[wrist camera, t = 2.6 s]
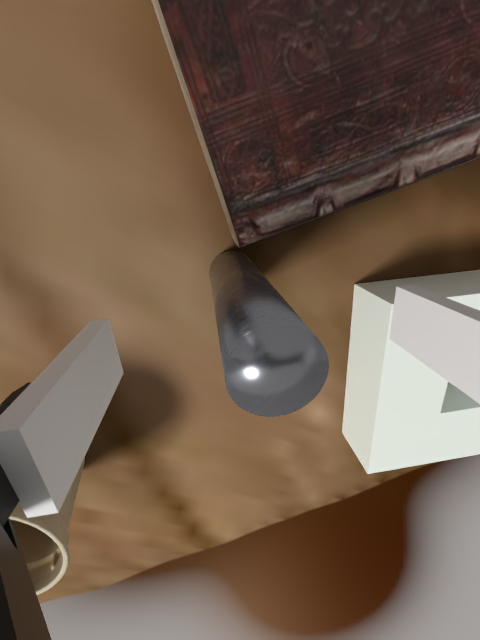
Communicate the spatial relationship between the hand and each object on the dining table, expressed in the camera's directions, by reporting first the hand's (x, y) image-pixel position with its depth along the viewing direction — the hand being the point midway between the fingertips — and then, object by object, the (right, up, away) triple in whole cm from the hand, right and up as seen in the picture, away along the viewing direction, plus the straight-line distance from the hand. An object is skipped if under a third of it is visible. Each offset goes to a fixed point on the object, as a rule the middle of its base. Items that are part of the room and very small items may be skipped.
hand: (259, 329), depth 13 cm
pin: (-2, +4, +9) cm, 10 cm away
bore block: (+17, -3, +14) cm, 22 cm away
